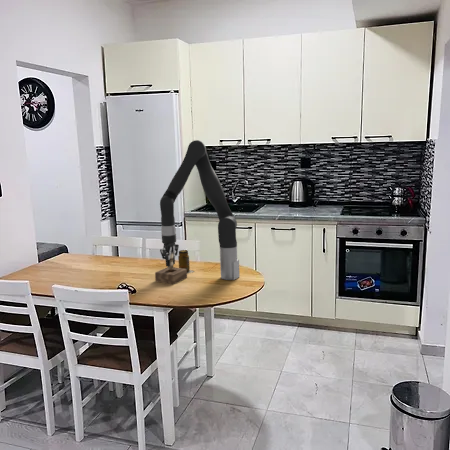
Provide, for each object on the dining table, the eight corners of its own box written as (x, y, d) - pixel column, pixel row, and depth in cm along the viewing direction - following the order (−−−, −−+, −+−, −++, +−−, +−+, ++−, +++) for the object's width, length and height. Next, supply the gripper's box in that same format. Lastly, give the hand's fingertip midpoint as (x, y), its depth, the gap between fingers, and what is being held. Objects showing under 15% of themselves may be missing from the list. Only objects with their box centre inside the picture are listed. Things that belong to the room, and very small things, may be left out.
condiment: (186, 268, 250) (185, 248, 248) (194, 271, 243) (193, 251, 241) (175, 271, 245) (174, 251, 243) (183, 274, 239) (182, 253, 237)
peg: (175, 267, 230) (174, 253, 228) (171, 269, 227) (170, 254, 225) (169, 266, 232) (169, 252, 230) (165, 268, 228) (165, 254, 227)
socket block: (187, 277, 232) (186, 269, 231) (173, 284, 222) (173, 275, 221) (169, 275, 238) (168, 266, 237) (155, 281, 228) (155, 272, 227)
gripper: (166, 236, 218) (168, 269, 221) (182, 231, 230) (184, 262, 233) (154, 235, 221) (156, 267, 225) (171, 230, 233) (172, 261, 237)
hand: (170, 265), depth 229 cm, fingers closed on peg, 3 cm apart
